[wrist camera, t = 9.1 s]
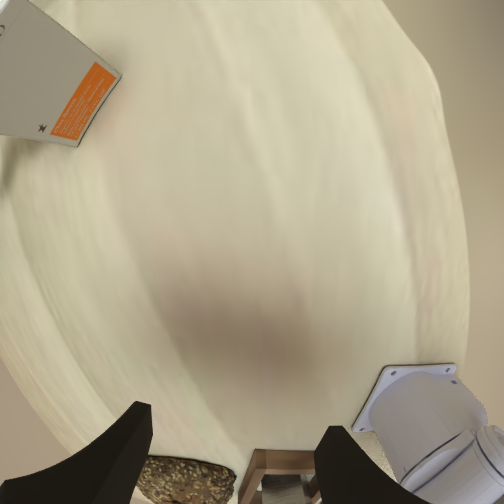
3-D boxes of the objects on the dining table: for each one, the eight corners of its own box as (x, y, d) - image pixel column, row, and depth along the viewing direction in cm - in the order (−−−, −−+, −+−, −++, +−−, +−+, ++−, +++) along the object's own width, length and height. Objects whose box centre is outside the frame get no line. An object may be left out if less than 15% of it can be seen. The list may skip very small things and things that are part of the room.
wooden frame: (340, 449, 22) (346, 466, 20) (308, 493, 24) (310, 507, 22) (255, 449, 22) (255, 468, 19) (238, 492, 24) (237, 508, 22)
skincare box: (78, 149, 15) (-63, 135, 4) (46, 126, 15) (-77, 106, 3) (126, 74, 14) (16, -12, 3) (89, 57, 14) (-13, -10, 2)
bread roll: (123, 442, 22) (109, 475, 17) (237, 458, 22) (236, 496, 18) (147, 491, 25) (140, 517, 20) (236, 502, 25) (235, 530, 20)
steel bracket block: (260, 467, 23) (262, 512, 17) (297, 459, 22) (305, 504, 17) (275, 487, 24) (278, 526, 18) (308, 480, 24) (315, 519, 18)
